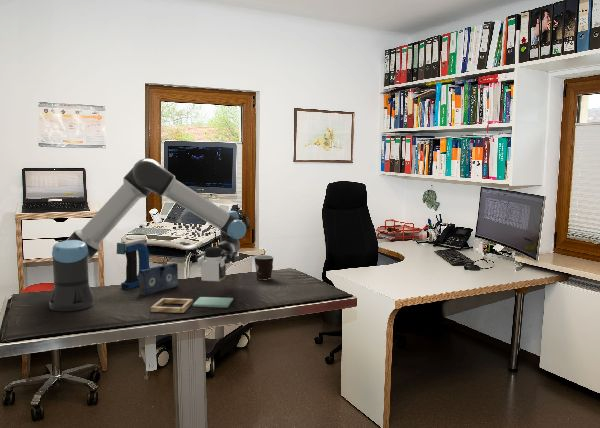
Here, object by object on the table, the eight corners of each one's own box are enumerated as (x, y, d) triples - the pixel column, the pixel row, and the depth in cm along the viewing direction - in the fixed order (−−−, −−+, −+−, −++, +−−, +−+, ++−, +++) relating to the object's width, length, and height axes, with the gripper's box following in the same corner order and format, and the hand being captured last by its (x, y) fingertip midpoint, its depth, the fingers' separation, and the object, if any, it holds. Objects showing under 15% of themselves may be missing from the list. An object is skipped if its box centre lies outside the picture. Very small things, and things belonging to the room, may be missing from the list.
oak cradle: (150, 311, 179) (150, 307, 179) (162, 302, 191) (162, 298, 191) (183, 312, 178) (183, 308, 178) (193, 303, 190) (192, 299, 190)
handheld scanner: (116, 289, 208) (115, 242, 206) (141, 281, 223) (141, 237, 220) (124, 291, 206) (124, 244, 204) (150, 282, 221) (149, 238, 219)
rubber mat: (192, 306, 186) (192, 304, 186) (200, 298, 196) (200, 296, 196) (227, 307, 185) (227, 305, 185) (233, 299, 195) (233, 297, 195)
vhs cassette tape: (174, 285, 217) (173, 262, 216) (179, 286, 215) (178, 263, 214) (138, 294, 202) (138, 270, 201) (143, 295, 200) (142, 271, 199)
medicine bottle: (219, 281, 185) (219, 249, 184) (201, 280, 187) (200, 248, 185) (225, 277, 192) (225, 246, 191) (208, 276, 194) (207, 245, 192)
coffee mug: (254, 276, 233) (254, 255, 232) (272, 276, 234) (272, 255, 233) (254, 282, 222) (254, 260, 221) (274, 282, 223) (274, 260, 222)
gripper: (249, 261, 206) (237, 274, 184) (199, 260, 208) (182, 272, 185) (248, 243, 205) (237, 253, 183) (199, 242, 207) (182, 252, 184)
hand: (210, 263), depth 184 cm, fingers closed on medicine bottle, 8 cm apart
